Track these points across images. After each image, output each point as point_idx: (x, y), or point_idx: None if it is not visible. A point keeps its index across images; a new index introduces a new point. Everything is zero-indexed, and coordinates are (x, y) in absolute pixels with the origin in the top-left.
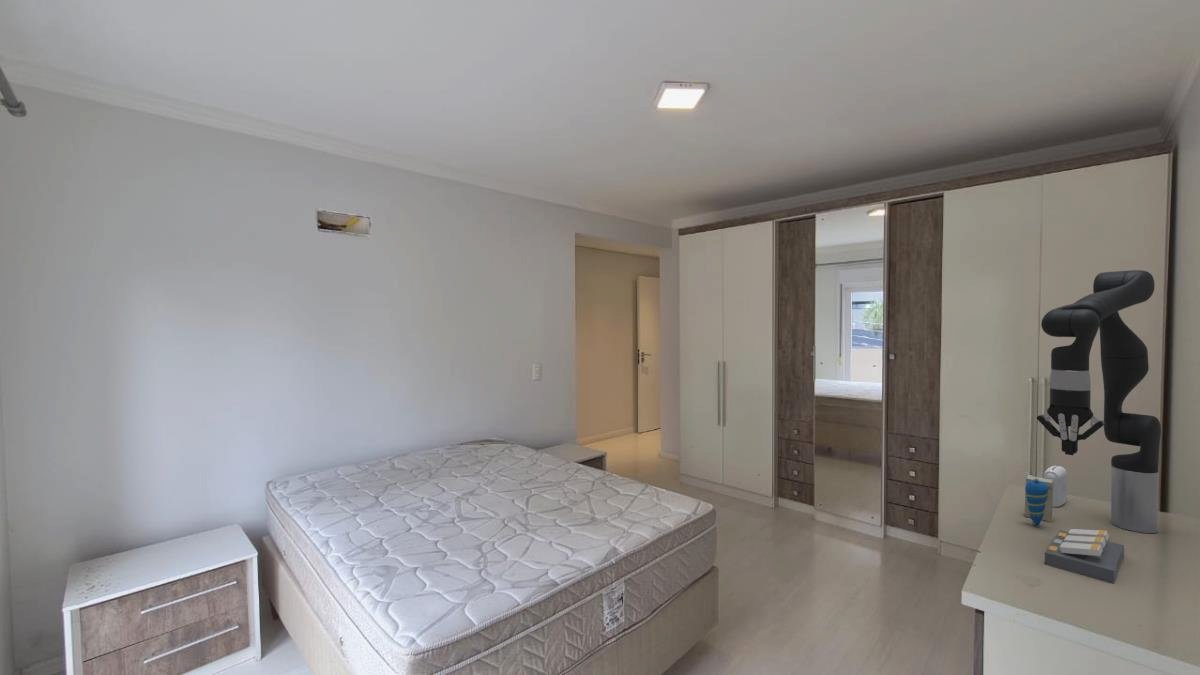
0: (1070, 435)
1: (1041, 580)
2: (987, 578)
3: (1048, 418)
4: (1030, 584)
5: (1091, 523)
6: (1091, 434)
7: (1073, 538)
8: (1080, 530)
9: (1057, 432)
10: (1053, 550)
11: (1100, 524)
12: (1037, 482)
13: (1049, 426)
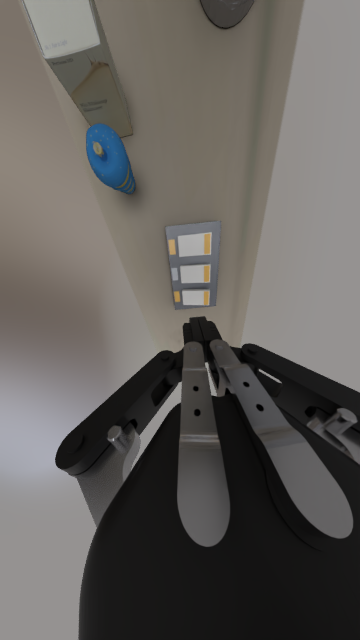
0: (212, 379)
1: (181, 331)
2: (161, 350)
3: (133, 457)
4: (178, 340)
5: (171, 46)
6: (276, 387)
7: (187, 276)
8: (187, 240)
9: (175, 381)
10: (178, 301)
11: (182, 32)
12: (104, 157)
13: (151, 411)
